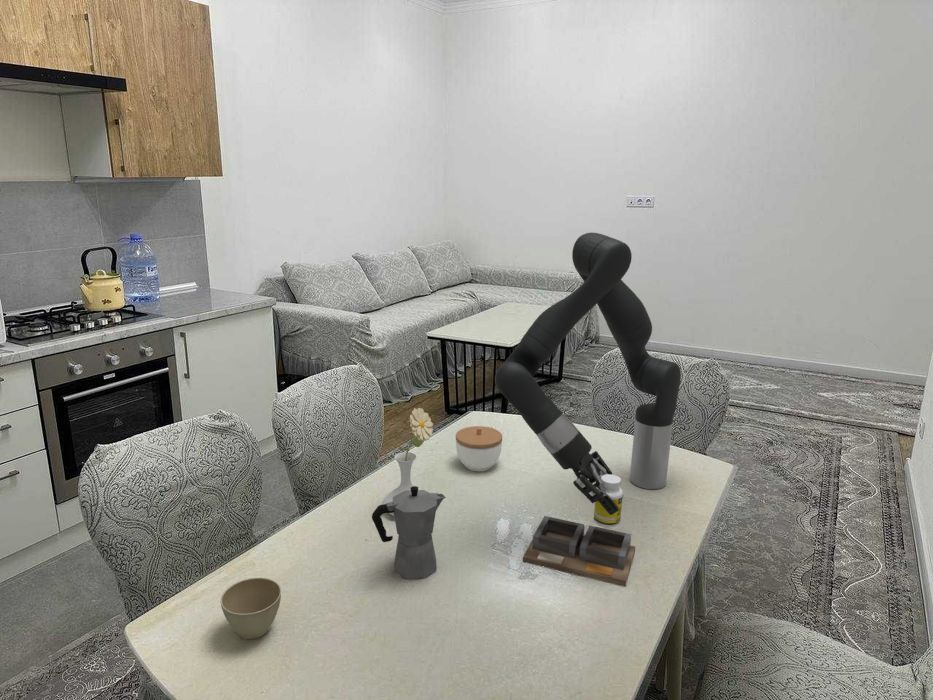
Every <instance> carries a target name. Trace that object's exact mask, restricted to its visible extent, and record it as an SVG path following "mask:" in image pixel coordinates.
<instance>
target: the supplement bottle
mask: <svg viewBox="0 0 933 700" xmlns="http://www.w3.org/2000/svg"><path fill="white" fill-rule="evenodd" d="M601 481H602V487H603V488H604V490H605V492H606V493H607V494H608V495H609V497H610V498H611V499H612V500H613V501H614V503H615V504H616V505H617V506H618V508H619V509H618V511H617V512H616V513H614V514H612V515H610V514H609V513H608V512H607V511H606V510H605V508H604V507H603V506H602V505H601V504H600V502H599V501H598V502H594V509H593V521H594V523H595V524H597V525H598V526H600V527H602V528H603V527H604V528H610V529H611V528H616V527H618V526H619V525H620V523H621V516H622V509H623V508H622V506H623V497H624V493H623V492H624V491H623V489H622V488H621V485H622V484H621V481H622V479H621V478H620V477H619V476H618V475H615V474H612V475H611V474H606V475H603V476H601ZM597 489H598V487H597ZM598 490H599V489H598Z"/></svg>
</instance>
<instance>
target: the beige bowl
mask: <svg viewBox="0 0 933 700" xmlns="http://www.w3.org/2000/svg"><path fill="white" fill-rule="evenodd" d="M281 598H282V588H281V586H280V584H279V583H278V582H277V581H275V580H274V579H272V578H266V577H251V578H246V579H243V580H239V581H237V582H235V583H234V584H232V585H229V587H227V588H226V589H225V590H224V591H223V593H222V595H221V597H220V607H221V610H222V613H223V615H224V617H225V619H226V621H227V623H228V625H229V626H230V627H231V629H232V630H233V631H234V632H235V633H236V634H237V635H238V636H239V637H241V638H242V639H246V640H255V639H258V638H261V637H263V636H264V635H265V634H266V633H268V631H269V630H270V628H271V626H272V624H273V623H274V621H275V619H276V617H277V614H278V611H279V607H280V603H281Z"/></svg>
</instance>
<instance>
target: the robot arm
mask: <svg viewBox="0 0 933 700" xmlns="http://www.w3.org/2000/svg"><path fill="white" fill-rule="evenodd" d="M632 256H633V255H632V250H631V248H630V246H629V245H628V244H627V243H625V242H624V241H622V240H619V239H616V238H615V237H614V238H613V237H610V236H608V235H605V234H602V233H598V232H586V233H583V234H581V235H580V236H579V237H578V238H577V239H576V241H575V242H574V244H573V248H572V252H571V257H572V264H573V266H574V268H575V270H576V272H577V273H578V274H579V276H580V277H581V279H582V280H583V282H582V284H580V286H579V287H578V288H576V289H575V290H574V291H573V292H571V293H570V294H569V295H567V296H565V297H564V298H562V299H560V300H559V301H557V302H556V303H554V304H552V305H551V306H549V307H548V308H546V309H544V311H543V312H541V314H539V315H538V316H537V318H536V319H534V321H533V323H532V324H531V325H530V326H529V328H528V330H526V332H525V333H524V335H522V337H521V339H520V341H519V343H518V345H517V346H516V348H515V349H514V350H513V351H511V353H510V354H509V356H508V357H507V358H506V360H505V361H504V362H503V363H502V364H501V366H499V368H498V369H497V370H496V373H495V376H494V383H495V386H496V389H497V390H498V391H499V392H500V393H501V394H502V395H503V396H504V398H505V399H507V401H508V402H509V403H510V404H511V406H512V407H513V408H514V409H516V411H518V412H519V413H520V415H521V417H522V419H523V421H524V422H525V423H526V424H527V426H528V427H529V428H530V429H531V431H533V433H534V434H535V435H536V436H537V438H538V440H539V441H540V442H541V444H542V445H543V447H544V448H545V449H546V450H547V451H548V453H549V454H550V455H551V456H552V458H554V460H555V461H556V462H557V463H558V465H559V466H560V467H561V468H562V469H563V470H569V469H571V470H572V471H573V473H574V474H575V477H576V479H575V480H573V482H572V483H573V485H574V487H575V488H576V489H577V490H578V491H579V492H581V494H582V495H583V496H585V497H586V499H587V500H589V501H590V503H592V504H595V502H598V501H599V502H600V504H601V505H602V506H603V507H604V508H605V510H606V511H607V512H608V513H609V514H610V515H612V514H614V513H616V512H617V511H618V509H619V508H618V506H617V505H616V504H615V503H614V501H613V500H612V499H611V498H610V497H609V495H608V494H607V493H606V492H605V490H604V488H603V487H602V481H601V476H603V475H606V474H611V475H613V472H612V470H611V469H610V467H609V466H608V465H607V463H606V462H605V460H603V458H602V457H601V455H600V454H599V452H598V451H597V450H595V451H593V452H592V453H590V452H591V450H592V449H593V447H592V445H591V442H589V441H588V439H587V438H586V437H585V436H584V435H583V434H582V433H581V431H580V430H579V429H578V428H577V427H576V425H575V424H574V423H573V422H572V421H571V420H570V419H569V418H568V417H567V416H565V414H564V413H563V412H562V410H561V409H560V408H559V407H558V406H557V405H556V404H555V402H554V401H553V400H552V399H551V398H550V397H549V396H548V395H547V394H545V392H544V390H543V389H542V388H541V386H540V385H539V384H538V383H537V381H536V379H535V378H534V376H536V374H537V372H538V371H539V370H540V368H541V367H542V366H543V365H544V363H546V362H547V361H548V360H549V359H550V358H551V356H552V355H553V354H554V352H556V350H557V349H558V348H559V346H560V344H561V343H562V342H563V340H564V339H565V338H566V336H567V335H568V334H569V333H570V332H571V330H572V329H573V328H574V327H575V326H576V325H577V324H578V323H579V322H580V320H581V319H582V318H584V317H585V316H586V315H587V314H588V312H590V311H591V310H592V309H593V308H594V307H595V306H596V305H597V306H598V308H599V310H600V313H601V314H602V317H603V318H604V321H605V323H606V325H607V327H608V330H609V331H610V333H611V335H612V336H613V340H615V342H616V345H617V347H618V349H619V352H620V353H621V356H622V358H623V360H624V362H625V365H626V369H627V372H628V375H629V378H630V381H631V383H632V385H633V387H634V388H635V389H636V390H638V391H640V393H644V394H649V395H651V396H654V397H655V401H654V402H653V403H652V402H651V403H644V404H641V405H638V406H637V407H636V410H635V415H634V416H635V418H634V427H633V429H634V430H633V439H632V440H633V441H632V452H631V460H630V471H629V472H630V473H629V481H630V483H632V484H634V486H637V487H638V488H642V489H646V490H660V489H663V488H664V487H665V486H666V484H667V479H668V471H669V470H668V469H669V460H670V451H671V442H672V441H671V440H672V432H673V423H674V422H673V421H674V417H675V412H676V409H677V404H678V398H679V391H680V385H681V379H682V378H681V377H682V376H681V374H682V373H681V367H680V365H679V364H678V363H676V362H674V361H670V360H666V359H662V358H658V357H654V356H652V355H650V354H649V352H648V350H647V348H646V346H647V345H648V343H649V341H650V338H651V337H652V333H653V323H652V321H651V318H650V316H649V313H648V311H647V309H646V307H645V305H644V303H643V302H642V301H641V299H640V298H639V296H637V294H636V293H635V292H634V291H633V290H632V289H631V288H630V286H628V285H627V284H626V283H625V282H624V280H622V279H623V278H624V276H625V275H626V274H627V272H628V271H629V269H630V266H631V263H632ZM597 487H598V489H599V490H598V489H597Z"/></svg>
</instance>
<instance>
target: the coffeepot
mask: <svg viewBox="0 0 933 700" xmlns="http://www.w3.org/2000/svg"><path fill="white" fill-rule="evenodd" d="M418 489H419V486H417V485H416V486H415V485H413V486H412V487H411V490H406V491H404V492H402V493H400V494H397V495H395V496H393V502H389V503H386V504H383V505H382V504H379V505H377V507H376V508H375V510H374V511H373V512H372V514H371V519H372V522H373V524H374V526H375V529H376V530H377V533H378V535H379V537H380V539H381V542H382V543H388V542H392V541H393V537H394V536H393V535H390V536H387V530H386V528H385V526H384V522H383V519H382V517H381V516H382V515H383V514H388V513H394V516H393V517H394V522H395V523H394V524H395V528H396V534H397V535H398V537H397V543H396V549H395V550H396V551H395V554H394V562H393V563H394V565H393V572H394V573H395V574H397V575H398V576H399V577H401V578H404V579H407V580H421V579H422V580H423V579H424V578H428V577H429V576H431V575H433V574H434V572H435V571H437V557H436V556H437V555H436V552H435V547H434V540H433V535H432V534H433V531H434V524H435V519H436V513H437V510H438V508H439V507H440V505H441V504H442V502H443V500H444V499H446V496H445V495H444V494H442V493H439V492H429V491H427V490H425V489H419V490H418Z"/></svg>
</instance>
